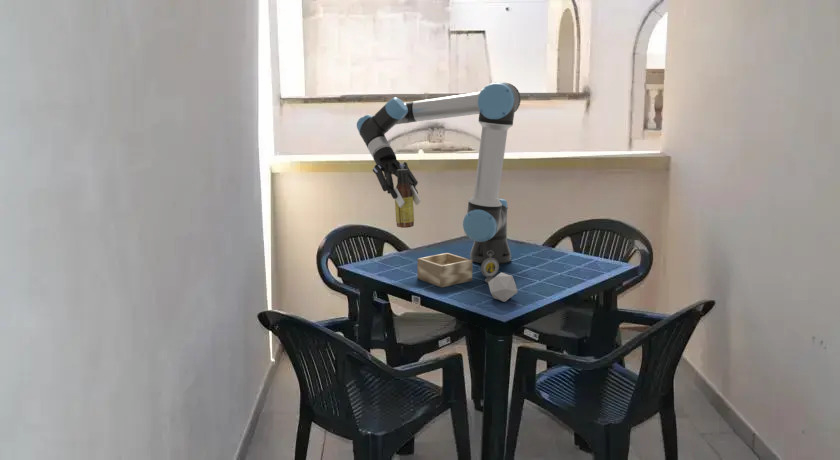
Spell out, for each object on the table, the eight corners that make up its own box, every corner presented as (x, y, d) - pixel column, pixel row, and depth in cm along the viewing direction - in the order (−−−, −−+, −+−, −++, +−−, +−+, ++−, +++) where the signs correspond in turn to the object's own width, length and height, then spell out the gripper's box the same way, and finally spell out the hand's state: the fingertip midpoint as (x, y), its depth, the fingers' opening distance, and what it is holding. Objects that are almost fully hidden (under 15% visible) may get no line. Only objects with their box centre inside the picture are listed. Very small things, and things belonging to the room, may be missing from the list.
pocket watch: (499, 286, 218) (500, 256, 216) (476, 282, 223) (477, 253, 221) (510, 280, 225) (511, 251, 223) (487, 276, 230) (488, 248, 227)
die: (522, 302, 204) (519, 273, 208) (510, 295, 197) (507, 264, 201) (498, 308, 208) (495, 279, 212) (485, 301, 201) (482, 271, 205)
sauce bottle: (417, 225, 235) (416, 168, 231) (407, 229, 230) (406, 170, 226) (401, 224, 239) (400, 168, 235) (391, 227, 234) (390, 169, 230)
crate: (447, 272, 235) (447, 252, 234) (472, 280, 225) (472, 260, 224) (417, 278, 228) (417, 258, 226) (441, 287, 217) (441, 266, 216)
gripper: (400, 157, 248) (428, 207, 238) (355, 161, 236) (382, 213, 227) (408, 143, 242) (437, 194, 233) (363, 147, 231) (391, 200, 222)
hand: (410, 203), depth 230 cm, fingers closed on sauce bottle, 6 cm apart
